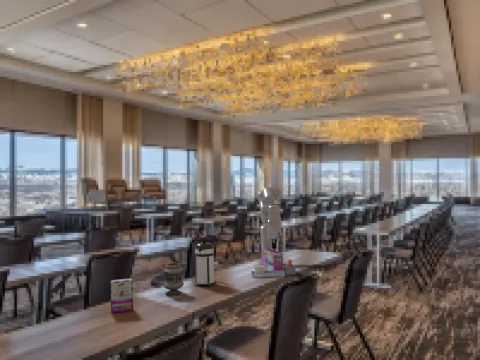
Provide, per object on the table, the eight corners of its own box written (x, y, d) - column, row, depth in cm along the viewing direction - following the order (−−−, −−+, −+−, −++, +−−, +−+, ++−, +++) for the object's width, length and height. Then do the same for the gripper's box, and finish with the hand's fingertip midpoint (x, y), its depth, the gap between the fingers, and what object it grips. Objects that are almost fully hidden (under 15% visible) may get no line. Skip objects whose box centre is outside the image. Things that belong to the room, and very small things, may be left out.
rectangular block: (251, 274, 287) (251, 270, 287) (282, 273, 288) (282, 269, 288) (252, 277, 277) (252, 273, 277) (285, 276, 278) (284, 272, 278)
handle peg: (287, 273, 287) (286, 259, 287) (291, 273, 287) (291, 259, 287) (288, 274, 284) (287, 260, 284) (292, 274, 284) (291, 260, 284)
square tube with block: (283, 271, 294) (283, 263, 294) (292, 271, 294) (292, 263, 294) (285, 275, 282) (285, 266, 282) (295, 274, 282) (295, 266, 282)
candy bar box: (133, 308, 212) (132, 277, 212) (133, 311, 207) (132, 280, 207) (111, 310, 209) (110, 279, 209) (110, 313, 204) (110, 281, 204)
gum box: (260, 266, 313) (260, 249, 313) (269, 265, 316) (269, 248, 316) (273, 272, 291) (273, 254, 291) (283, 271, 294) (283, 253, 294)
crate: (255, 274, 285) (254, 265, 285) (264, 274, 285) (263, 264, 285) (255, 276, 278) (255, 266, 278) (265, 276, 279) (264, 266, 279)
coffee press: (220, 285, 256) (220, 239, 257) (197, 288, 250) (196, 241, 251) (212, 279, 272) (212, 236, 273) (190, 282, 267) (189, 237, 267)
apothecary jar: (159, 295, 237) (159, 265, 237) (171, 290, 248) (170, 261, 248) (176, 297, 232) (176, 266, 232) (187, 292, 243) (187, 262, 243)
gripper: (262, 222, 288) (263, 247, 288) (277, 223, 276) (277, 250, 276) (270, 221, 293) (271, 246, 293) (284, 223, 281) (285, 248, 281)
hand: (274, 248), depth 284 cm, fingers closed
